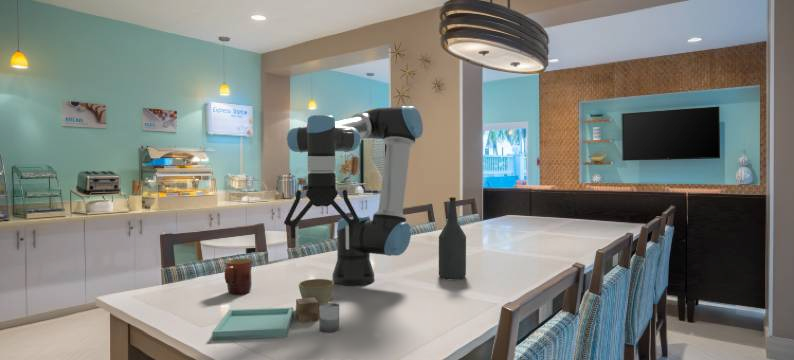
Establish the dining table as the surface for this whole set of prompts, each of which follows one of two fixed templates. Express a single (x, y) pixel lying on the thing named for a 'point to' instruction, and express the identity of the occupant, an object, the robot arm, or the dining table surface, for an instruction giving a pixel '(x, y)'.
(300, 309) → the walnut block
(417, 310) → the dining table surface
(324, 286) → the flower pot
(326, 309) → the grey tin
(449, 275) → the bottle
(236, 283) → the mug
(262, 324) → the tray
